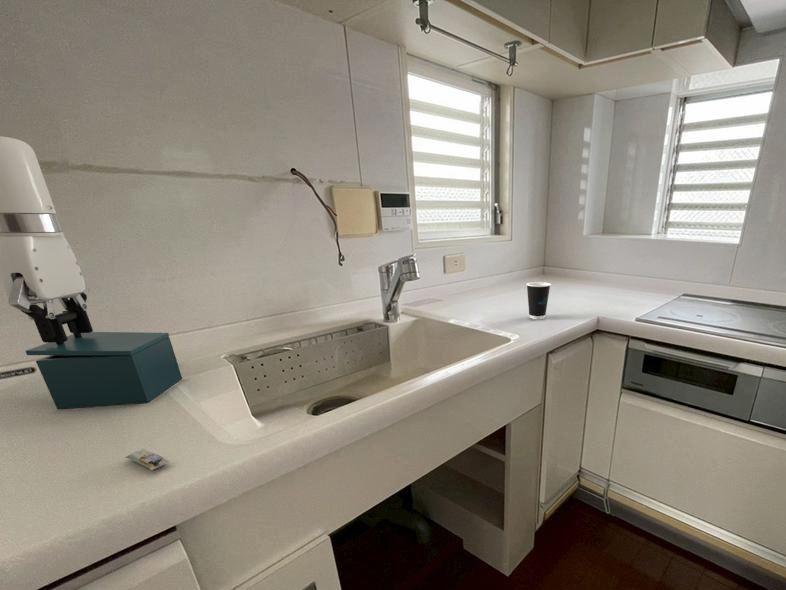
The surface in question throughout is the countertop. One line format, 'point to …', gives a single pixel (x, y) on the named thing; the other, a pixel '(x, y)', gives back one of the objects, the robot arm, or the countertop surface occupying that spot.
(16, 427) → the countertop surface
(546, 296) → the dixie cup
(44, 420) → the countertop surface
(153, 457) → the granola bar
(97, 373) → the teal box
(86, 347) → the teal handled lid
